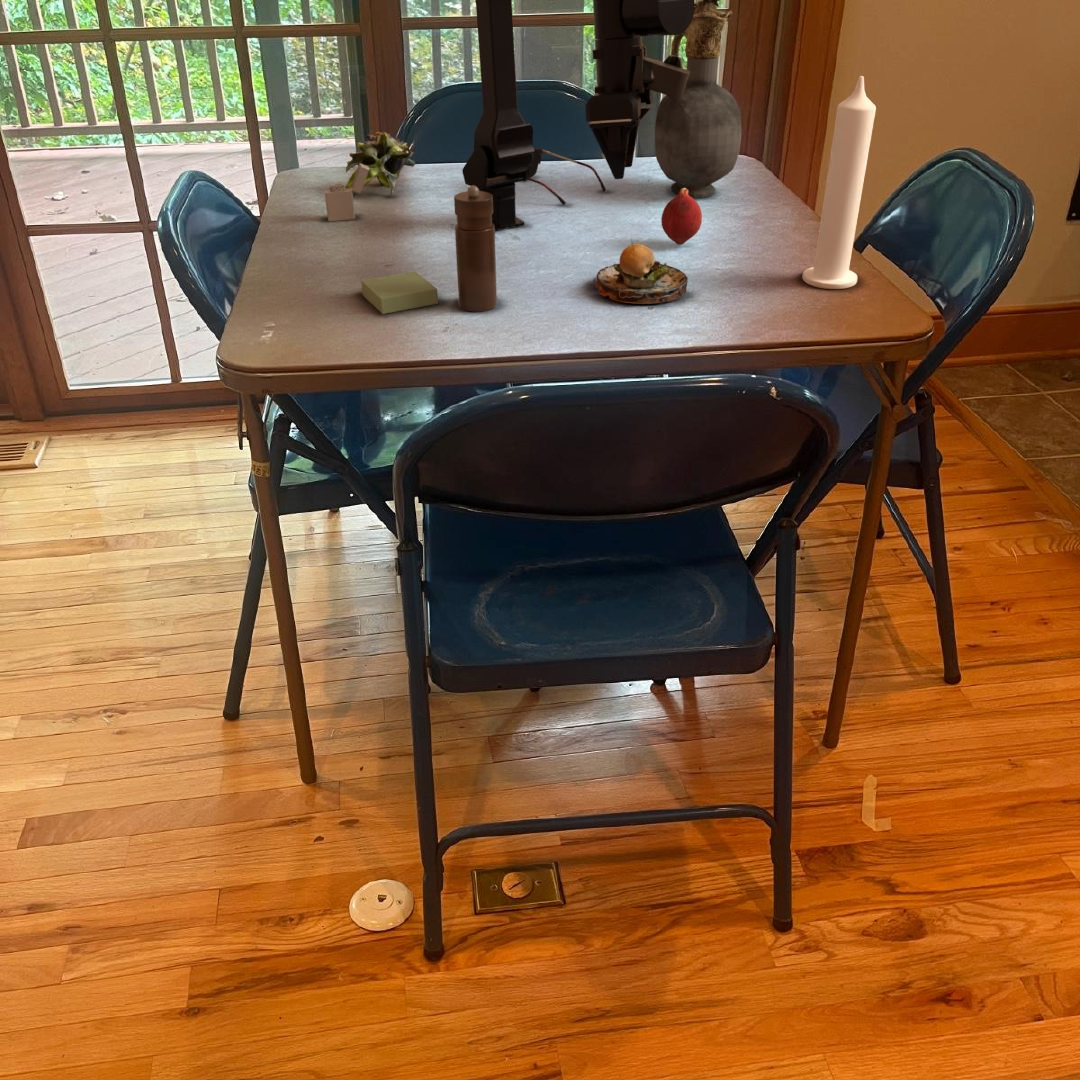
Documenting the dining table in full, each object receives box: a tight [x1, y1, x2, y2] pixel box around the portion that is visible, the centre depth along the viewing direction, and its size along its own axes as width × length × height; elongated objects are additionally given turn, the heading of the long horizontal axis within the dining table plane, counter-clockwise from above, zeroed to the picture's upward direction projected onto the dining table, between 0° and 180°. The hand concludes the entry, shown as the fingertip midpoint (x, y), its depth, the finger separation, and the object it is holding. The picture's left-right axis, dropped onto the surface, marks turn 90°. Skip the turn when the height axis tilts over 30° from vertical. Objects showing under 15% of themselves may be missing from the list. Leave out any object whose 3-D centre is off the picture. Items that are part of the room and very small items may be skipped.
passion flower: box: [345, 131, 416, 198], centre depth 169 cm, size 11×11×12 cm
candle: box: [801, 75, 877, 290], centre depth 126 cm, size 7×7×25 cm
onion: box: [660, 188, 703, 246], centre depth 144 cm, size 6×6×8 cm
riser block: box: [360, 270, 439, 315], centre depth 128 cm, size 8×8×2 cm
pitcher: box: [654, 0, 742, 199], centre depth 162 cm, size 11×19×30 cm, turn 17°
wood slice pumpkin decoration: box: [594, 238, 689, 305], centre depth 129 cm, size 12×12×8 cm
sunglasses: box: [527, 147, 607, 206], centre depth 170 cm, size 14×16×5 cm
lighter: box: [324, 163, 369, 222], centre depth 156 cm, size 7×2×8 cm, turn 106°
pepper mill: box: [453, 186, 498, 313], centre depth 122 cm, size 5×5×15 cm
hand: (623, 172), depth 129 cm, fingers open, 9 cm apart
